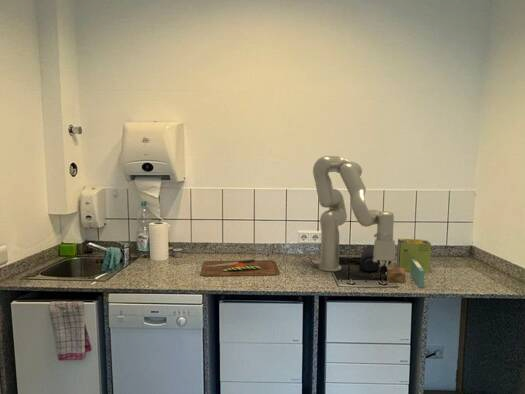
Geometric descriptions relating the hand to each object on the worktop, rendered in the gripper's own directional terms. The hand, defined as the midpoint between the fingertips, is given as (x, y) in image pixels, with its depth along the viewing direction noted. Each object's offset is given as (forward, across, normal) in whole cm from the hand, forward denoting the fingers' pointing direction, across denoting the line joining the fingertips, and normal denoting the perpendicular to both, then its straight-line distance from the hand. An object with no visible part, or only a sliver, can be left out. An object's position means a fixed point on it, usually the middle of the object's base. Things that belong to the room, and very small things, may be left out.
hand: (383, 273), depth 195 cm
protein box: (+3, +18, +21) cm, 28 cm away
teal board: (+3, +16, 0) cm, 16 cm away
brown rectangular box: (+3, +6, +1) cm, 7 cm away
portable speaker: (+3, -4, +21) cm, 22 cm away
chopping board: (+3, -73, +3) cm, 73 cm away
